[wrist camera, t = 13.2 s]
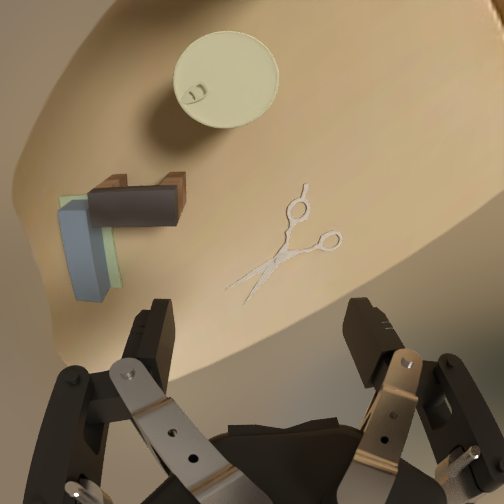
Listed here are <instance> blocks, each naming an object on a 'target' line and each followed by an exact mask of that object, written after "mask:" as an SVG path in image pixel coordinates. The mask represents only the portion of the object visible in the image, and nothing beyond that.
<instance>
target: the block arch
mask: <svg viewBox="0 0 504 504" xmlns="http://www.w3.org/2000/svg"><path fill="white" fill-rule="evenodd" d="M87 197H88V205H89V212H90V218H91V224H92V227H148V226H177V223H178V221H179V218H180V216H181V213H182V211H183V208H184V206H185V203H186V172H170V173H169V174H168V175H167V177H166V178H165V179H164V180H163V182H162V183H161V184H160V185H153V186H128V185H127V174H115V175H112V176H110V177H109V178H107V179H106V180H105V181H103V182H102V183H101V184H99V185H98V186H96V187H95V188H94V189H92V190H91V191H90V192H88V193H87Z"/></svg>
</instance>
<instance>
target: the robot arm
mask: <svg viewBox="0 0 504 504" xmlns="http://www.w3.org/2000/svg"><path fill="white" fill-rule="evenodd" d="M343 336H344V338H345V341H346V343H347V346H348V348H349V350H350V353H351V355H352V357H353V360H354V362H355V365H356V367H357V369H358V372H359V374H360V377H361V379H362V382H363V384H364V387H365V388H371V387H374V388H375V390H376V391H375V393H374V395H373V397H372V400H371V402H370V404H369V407H368V409H367V411H366V413H365V416H364V418H363V420H362V422H361V424H360V426H359V428H358V429H356V428H353V427H350V426H347V425H340V424H339V423H338V420H337V417H334V418H327V419H320V420H311V421H309V422H305V423H302V424H300V425H296V426H293V427H290V428H286V429H280V428H274V427H267V426H261V425H228V432H227V433H223V434H220V435H217V436H214V437H212V438H210V439H209V440H208V439H207V438H206V437H205V436H204V435H203V434H202V433H201V432H200V430H199V429H198V428H197V427H196V426H195V425H194V424H193V422H192V421H191V420H190V419H189V418H188V416H187V415H186V414H185V413H184V412H183V410H182V409H181V408H180V407H179V405H178V404H177V403H176V402H175V400H174V399H173V398H171V397H169V398H168V397H166V390H167V384H168V377H169V371H170V365H171V359H172V353H173V347H174V341H175V323H174V315H173V308H172V301H171V299H154V300H153V303H152V306H151V309H150V310H142V311H141V312H140V313H139V314H138V315H137V316H136V317H135V320H134V323H133V327H132V328H131V331H130V334H129V337H128V340H127V343H126V346H125V349H124V352H123V355H122V358H121V359H120V360H118V361H116V362H115V363H114V364H113V365H112V366H111V368H110V370H108V371H104V372H98V373H92V374H89V373H88V371H87V370H86V369H85V368H84V367H82V366H77V365H74V366H69V367H67V368H65V369H63V370H62V371H61V372H60V374H59V375H58V377H57V380H56V383H55V386H54V389H53V391H52V394H51V397H50V400H49V403H48V406H47V409H46V412H45V416H44V418H43V422H42V425H41V428H40V432H39V435H38V439H37V443H36V446H35V450H34V454H33V458H32V462H31V466H30V471H29V475H28V479H27V484H26V489H25V494H24V500H23V504H113V501H112V499H111V498H110V496H109V495H108V494H107V493H105V492H104V491H103V490H102V489H101V488H100V484H101V476H102V468H103V461H104V453H105V447H106V440H107V434H108V428H109V423H110V422H116V421H122V420H128V419H130V421H131V422H132V424H133V425H134V427H135V429H136V430H137V432H138V433H139V435H140V436H141V438H142V439H143V441H144V442H145V444H146V445H147V447H148V448H149V450H150V451H151V453H152V454H153V456H154V458H155V459H156V461H157V462H158V464H159V465H160V466H161V468H162V469H163V470H164V472H165V473H166V474H167V475H168V478H167V479H166V480H165V481H164V482H163V483H162V484H161V485H160V486H159V487H158V488H157V489H156V490H155V491H154V492H153V493H152V494H150V495H149V496H148V497H147V498H146V499H145V500H144V501H143V502H142V503H141V504H474V503H476V502H477V501H479V500H481V499H482V498H484V497H485V496H487V495H489V494H490V493H491V492H493V491H495V490H496V489H498V488H499V487H500V486H502V485H503V484H504V438H503V435H502V434H501V431H500V429H499V427H498V425H497V423H496V422H495V419H494V417H493V415H492V413H491V411H490V409H489V407H488V406H487V404H486V402H485V400H484V398H483V396H482V394H481V393H480V391H479V389H478V387H477V386H476V384H475V382H474V380H473V378H472V377H471V375H470V373H469V372H468V370H467V368H466V367H465V365H464V363H463V362H462V360H461V359H460V358H459V357H457V356H456V355H453V354H449V353H446V354H443V355H441V356H440V357H439V359H438V361H437V362H433V361H423V360H422V359H421V357H420V356H419V355H418V354H417V353H416V352H414V351H413V350H410V349H405V347H404V345H403V343H402V342H401V340H400V338H399V337H398V335H397V333H396V332H395V330H394V329H393V327H392V325H391V324H390V323H389V320H388V319H387V317H386V315H385V314H384V313H383V312H382V311H380V310H379V309H378V308H377V307H373V306H372V305H371V303H370V301H369V300H368V298H366V297H362V298H351V299H350V300H349V303H348V307H347V311H346V315H345V318H344V322H343ZM445 398H447V400H448V402H449V404H450V406H451V408H452V415H451V412H450V410H449V408H448V406H447V404H446V402H445ZM415 409H417V411H418V414H419V416H420V419H421V421H422V424H423V426H424V429H425V432H426V434H427V437H428V440H429V442H430V445H431V448H432V450H433V453H434V456H435V459H436V462H437V465H438V466H437V467H436V470H435V478H434V479H433V478H431V477H430V476H428V475H426V474H425V473H423V472H422V471H420V470H419V469H417V468H415V467H414V466H412V465H411V464H409V463H408V462H406V461H405V460H403V459H402V458H400V457H401V455H402V452H403V449H404V445H405V443H406V440H407V437H408V434H409V430H410V427H411V424H412V420H413V417H414V413H415Z"/></svg>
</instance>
